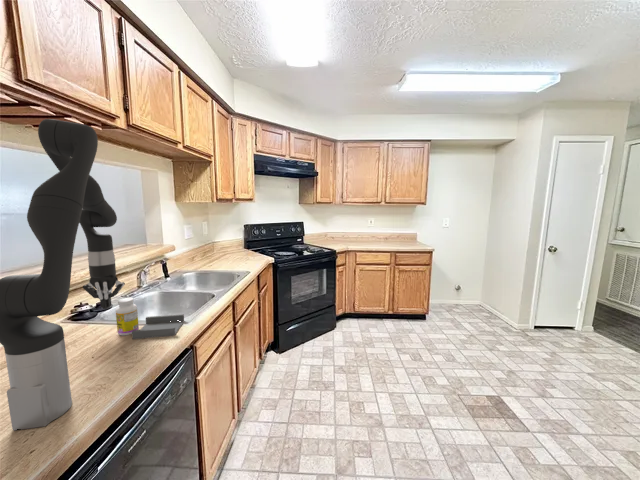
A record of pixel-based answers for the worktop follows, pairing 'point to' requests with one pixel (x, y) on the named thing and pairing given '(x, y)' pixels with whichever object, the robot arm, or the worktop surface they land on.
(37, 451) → the worktop surface
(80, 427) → the worktop surface
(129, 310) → the supplement bottle
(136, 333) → the cradle tray
